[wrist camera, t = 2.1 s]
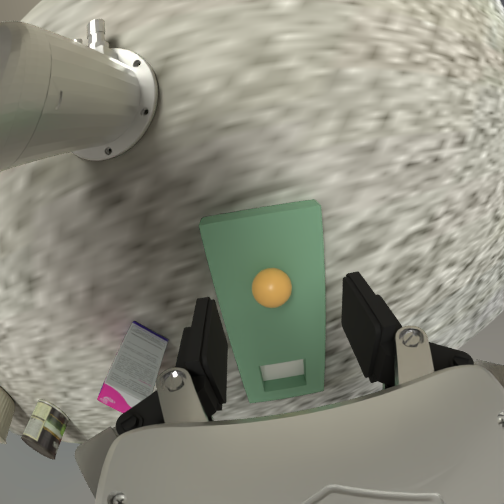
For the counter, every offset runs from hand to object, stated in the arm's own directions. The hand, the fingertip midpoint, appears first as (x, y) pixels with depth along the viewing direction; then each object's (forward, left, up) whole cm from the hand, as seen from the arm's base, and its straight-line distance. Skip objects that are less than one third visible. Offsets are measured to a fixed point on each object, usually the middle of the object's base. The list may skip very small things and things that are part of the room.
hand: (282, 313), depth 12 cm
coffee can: (+42, -62, -18) cm, 77 cm away
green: (+15, 0, -18) cm, 23 cm away
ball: (+7, 0, -13) cm, 15 cm away
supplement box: (+16, -19, -18) cm, 31 cm away
